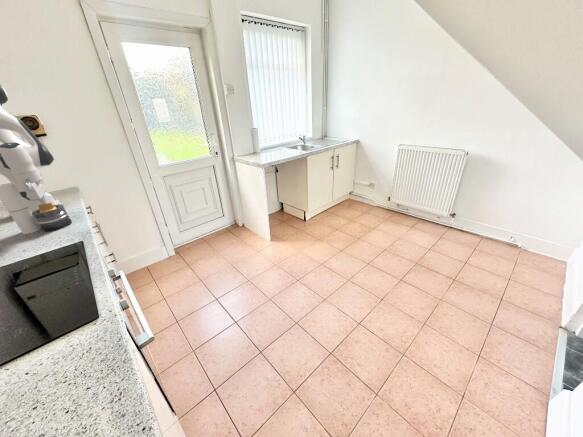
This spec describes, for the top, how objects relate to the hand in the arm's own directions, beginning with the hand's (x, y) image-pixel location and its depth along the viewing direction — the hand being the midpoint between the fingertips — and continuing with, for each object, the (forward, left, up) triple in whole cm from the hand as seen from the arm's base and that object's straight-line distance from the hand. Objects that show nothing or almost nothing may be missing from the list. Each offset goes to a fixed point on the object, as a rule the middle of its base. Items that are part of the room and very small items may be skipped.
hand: (44, 203), depth 122 cm
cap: (0, 0, -5) cm, 5 cm away
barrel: (0, 0, -13) cm, 13 cm away
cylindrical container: (-3, -11, -13) cm, 17 cm away
